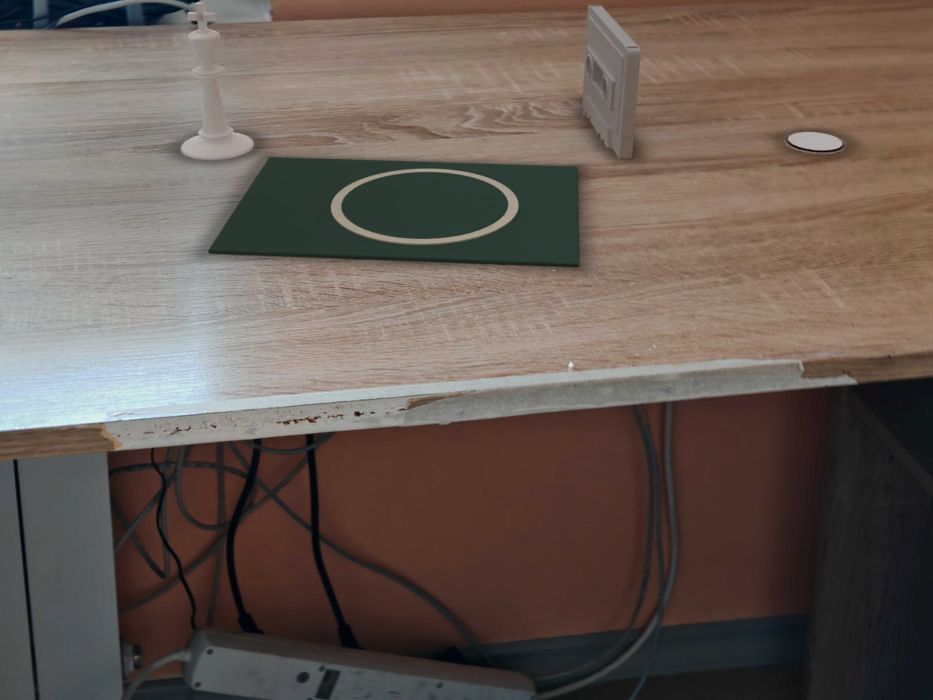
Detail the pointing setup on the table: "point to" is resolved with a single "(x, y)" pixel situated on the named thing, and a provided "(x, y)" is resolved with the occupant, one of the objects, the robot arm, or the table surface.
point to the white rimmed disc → (814, 142)
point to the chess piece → (211, 98)
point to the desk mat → (408, 212)
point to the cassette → (610, 81)
